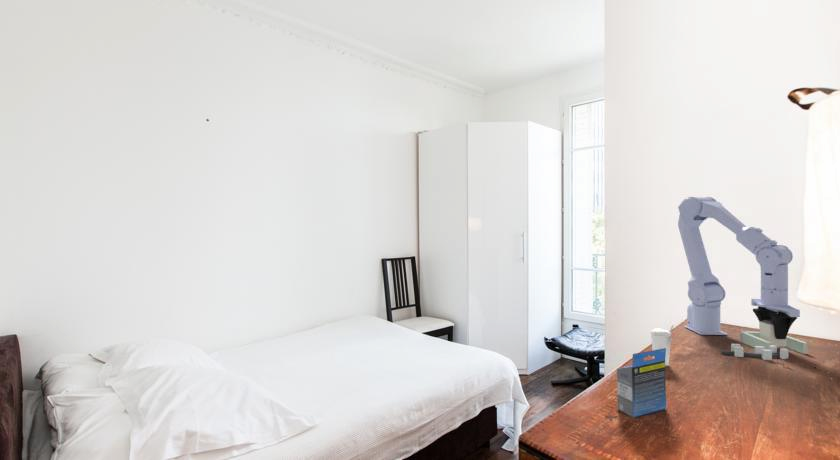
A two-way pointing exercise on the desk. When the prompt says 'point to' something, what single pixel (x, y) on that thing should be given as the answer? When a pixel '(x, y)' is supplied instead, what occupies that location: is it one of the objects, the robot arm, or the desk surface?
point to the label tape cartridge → (642, 384)
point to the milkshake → (661, 341)
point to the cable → (750, 354)
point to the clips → (760, 351)
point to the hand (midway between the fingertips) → (773, 336)
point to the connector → (770, 333)
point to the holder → (755, 340)
